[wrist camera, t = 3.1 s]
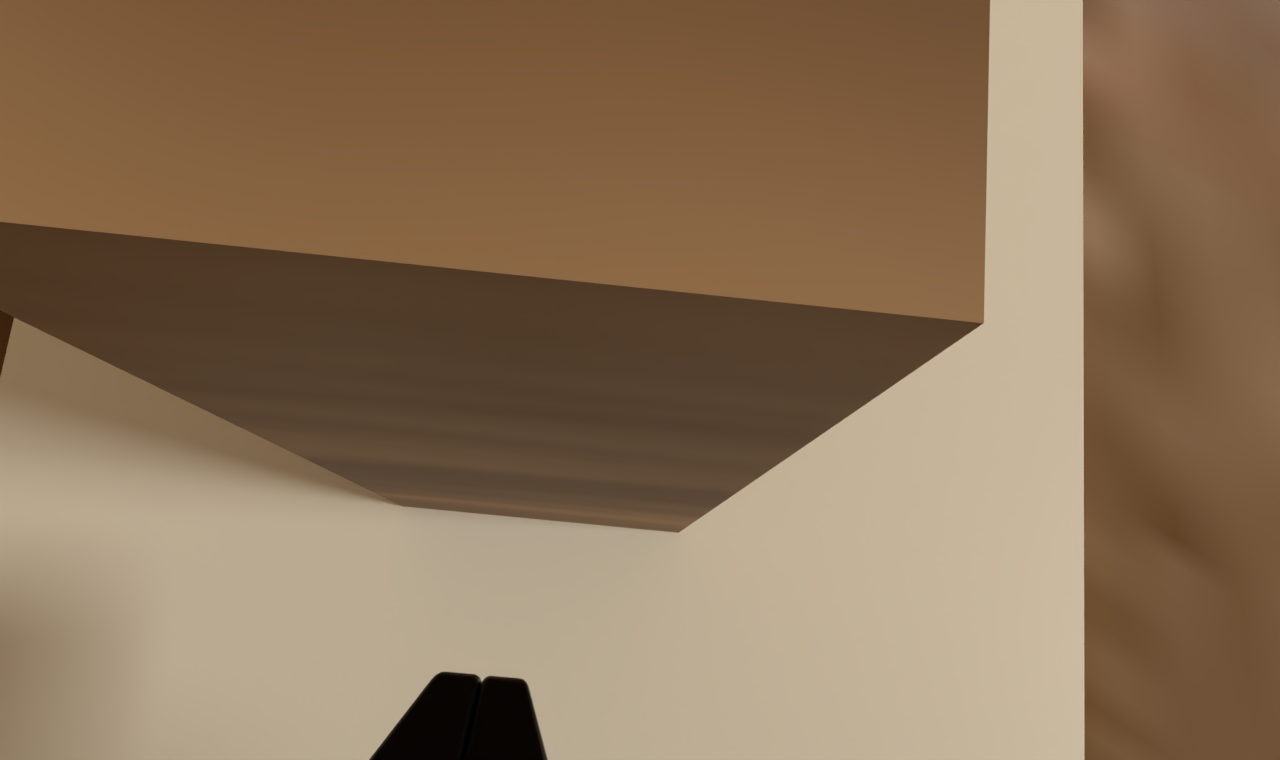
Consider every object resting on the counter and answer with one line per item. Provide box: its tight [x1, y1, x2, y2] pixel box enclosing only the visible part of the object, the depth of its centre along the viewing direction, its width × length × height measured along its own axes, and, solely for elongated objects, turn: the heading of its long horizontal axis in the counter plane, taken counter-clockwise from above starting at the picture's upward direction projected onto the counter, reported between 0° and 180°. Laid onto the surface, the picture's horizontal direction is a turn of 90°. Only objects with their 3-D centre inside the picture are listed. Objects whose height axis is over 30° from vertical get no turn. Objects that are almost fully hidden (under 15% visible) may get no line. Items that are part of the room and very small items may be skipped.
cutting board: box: [0, 0, 1084, 760], centre depth 17 cm, size 22×18×1 cm
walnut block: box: [0, 0, 990, 533], centre depth 11 cm, size 4×4×13 cm
